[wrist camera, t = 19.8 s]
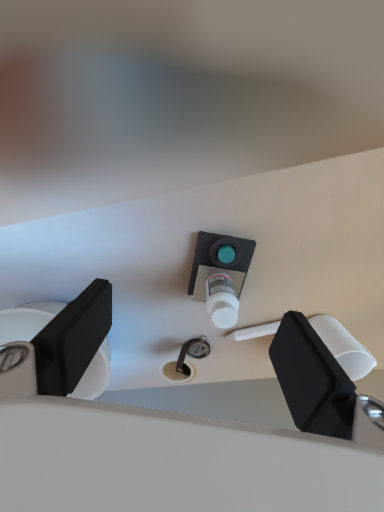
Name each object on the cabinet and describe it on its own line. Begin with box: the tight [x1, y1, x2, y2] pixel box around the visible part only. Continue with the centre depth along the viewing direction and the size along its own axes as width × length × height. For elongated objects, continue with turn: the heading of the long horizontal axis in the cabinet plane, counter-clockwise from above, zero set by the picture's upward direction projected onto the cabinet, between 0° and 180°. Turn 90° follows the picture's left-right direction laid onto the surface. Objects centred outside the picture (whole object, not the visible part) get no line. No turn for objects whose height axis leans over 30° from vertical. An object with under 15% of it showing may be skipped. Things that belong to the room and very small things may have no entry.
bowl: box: [0, 301, 111, 400], centre depth 44 cm, size 27×27×10 cm
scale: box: [188, 231, 256, 300], centre depth 39 cm, size 14×11×3 cm
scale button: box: [218, 245, 235, 263], centre depth 36 cm, size 3×3×2 cm
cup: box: [308, 315, 377, 381], centre depth 41 cm, size 8×12×10 cm
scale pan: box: [192, 264, 246, 302], centre depth 38 cm, size 8×9×1 cm
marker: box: [224, 321, 281, 341], centre depth 45 cm, size 3×2×16 cm
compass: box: [176, 336, 210, 372], centre depth 46 cm, size 8×8×7 cm
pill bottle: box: [205, 273, 239, 329], centre depth 33 cm, size 5×5×10 cm
